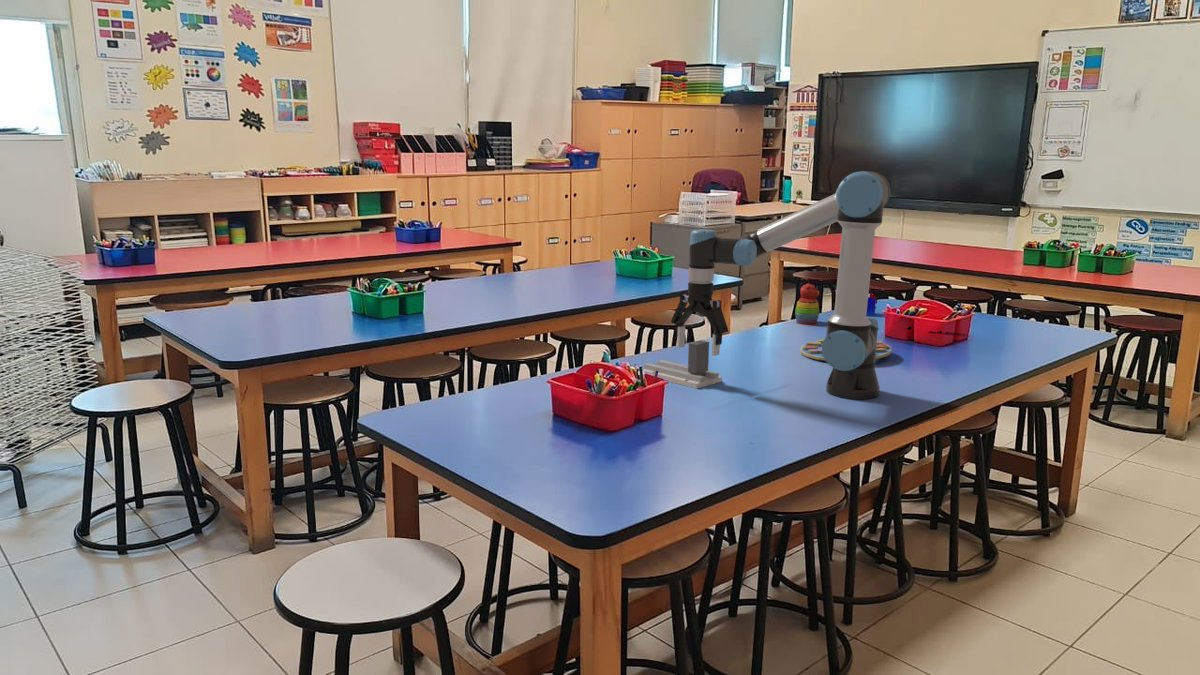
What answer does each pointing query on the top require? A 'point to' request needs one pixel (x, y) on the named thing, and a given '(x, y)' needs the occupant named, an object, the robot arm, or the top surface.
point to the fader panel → (681, 381)
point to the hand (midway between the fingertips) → (697, 351)
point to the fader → (698, 357)
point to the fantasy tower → (871, 305)
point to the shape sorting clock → (815, 352)
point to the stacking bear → (807, 306)
